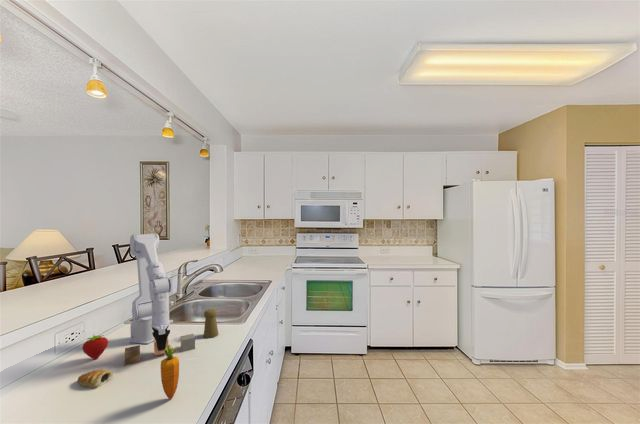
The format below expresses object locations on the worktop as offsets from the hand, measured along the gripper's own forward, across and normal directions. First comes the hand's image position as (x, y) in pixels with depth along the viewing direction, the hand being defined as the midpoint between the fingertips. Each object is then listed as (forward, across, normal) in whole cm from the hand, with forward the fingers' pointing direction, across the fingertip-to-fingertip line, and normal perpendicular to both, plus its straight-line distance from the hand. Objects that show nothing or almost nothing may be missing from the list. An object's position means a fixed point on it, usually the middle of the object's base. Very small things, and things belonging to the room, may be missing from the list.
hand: (161, 347), depth 110 cm
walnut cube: (+3, 0, +9) cm, 9 cm away
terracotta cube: (+1, 0, 0) cm, 1 cm away
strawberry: (+3, +9, +20) cm, 23 cm away
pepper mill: (+3, +8, -19) cm, 21 cm away
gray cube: (+3, 0, -9) cm, 9 cm away
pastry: (+3, -9, +19) cm, 21 cm away
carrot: (+3, -32, -1) cm, 32 cm away
